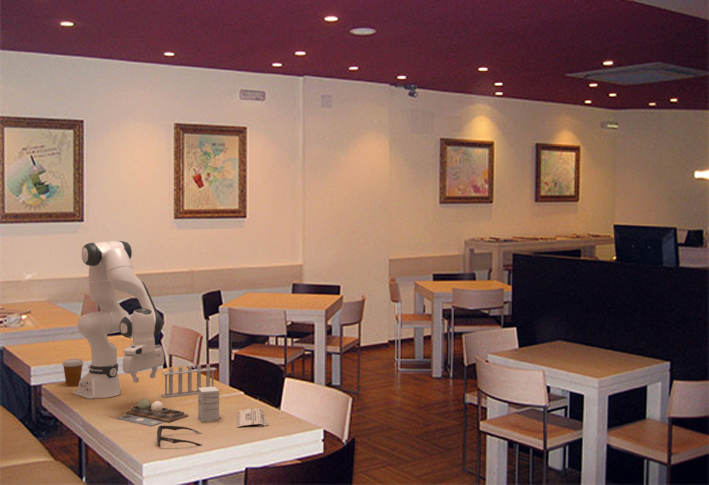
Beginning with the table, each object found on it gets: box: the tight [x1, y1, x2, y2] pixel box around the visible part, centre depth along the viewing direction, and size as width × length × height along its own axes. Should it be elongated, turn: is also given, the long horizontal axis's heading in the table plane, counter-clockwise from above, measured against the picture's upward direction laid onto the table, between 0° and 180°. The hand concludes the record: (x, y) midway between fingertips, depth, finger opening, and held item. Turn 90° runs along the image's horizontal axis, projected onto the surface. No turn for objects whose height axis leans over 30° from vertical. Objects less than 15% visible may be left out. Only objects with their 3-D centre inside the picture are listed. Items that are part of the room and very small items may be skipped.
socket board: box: [125, 404, 189, 424], centre depth 295 cm, size 25×11×2 cm, turn 60°
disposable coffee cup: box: [62, 358, 84, 388], centre depth 344 cm, size 10×10×12 cm
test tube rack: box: [161, 363, 218, 399], centre depth 330 cm, size 25×4×13 cm, turn 119°
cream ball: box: [150, 400, 164, 413], centre depth 295 cm, size 5×5×5 cm
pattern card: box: [116, 414, 164, 427], centre depth 287 cm, size 20×6×1 cm, turn 60°
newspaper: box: [236, 407, 269, 428], centre depth 291 cm, size 23×12×2 cm, turn 9°
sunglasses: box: [156, 425, 203, 447], centre depth 263 cm, size 16×17×5 cm
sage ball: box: [137, 397, 151, 410], centre depth 299 cm, size 5×5×5 cm
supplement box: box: [197, 386, 220, 423], centre depth 290 cm, size 7×7×13 cm
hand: (144, 380), depth 298 cm, fingers open, 8 cm apart
